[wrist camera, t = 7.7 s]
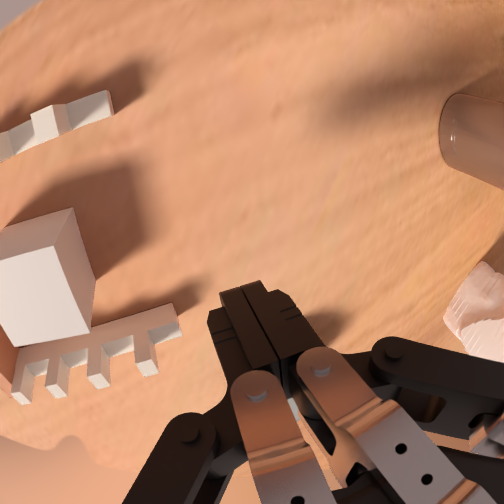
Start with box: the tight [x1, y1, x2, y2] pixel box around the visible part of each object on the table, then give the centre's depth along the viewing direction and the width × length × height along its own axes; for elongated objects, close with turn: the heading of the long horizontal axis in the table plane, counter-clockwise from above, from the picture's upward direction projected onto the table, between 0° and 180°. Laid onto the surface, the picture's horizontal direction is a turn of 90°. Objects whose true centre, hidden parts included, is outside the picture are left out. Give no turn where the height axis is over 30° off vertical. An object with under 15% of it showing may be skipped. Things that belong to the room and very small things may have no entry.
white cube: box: [0, 207, 96, 347], centre depth 16 cm, size 6×6×6 cm
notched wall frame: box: [0, 90, 183, 405], centre depth 16 cm, size 18×18×5 cm
